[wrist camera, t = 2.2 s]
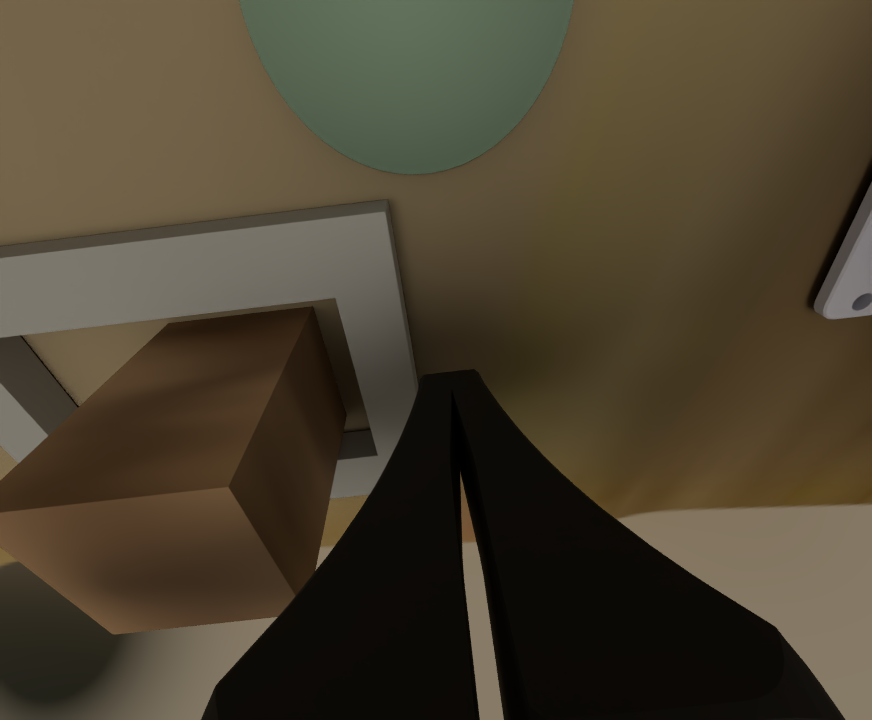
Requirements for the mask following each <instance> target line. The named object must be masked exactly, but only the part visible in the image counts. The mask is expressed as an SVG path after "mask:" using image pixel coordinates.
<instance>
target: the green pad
mask: <svg viewBox="0 0 872 720" xmlns="http://www.w3.org/2000/svg"><path fill="white" fill-rule="evenodd" d="M239 1H240V6H241V10H242V13H243V16H244V19H245V22H246V25H247V28H248V31H249V34H250V37H251V40H252V42H253V44H254V46H255V48H256V51H257V53H258V55H259V57H260V60H261V62H262V64H263V66H264V68H265V69H266V71H267V73H268V75H269V76H270V78H271V80H272V82H273V84H274V85H275V87H276V89H277V90H278V91H279V93H280V94H281V96H282V97H283V98H284V100H285V101H286V103H287V104H288V105H289V107H290V108H291V109H292V110H293V111H294V113H295V114H296V115H297V116H298V117H299V118H300V119H301V121H302V122H303V123H304V124H305V125H306V126H307V127H308V128H309V129H310V130H311V131H313V132H314V133H315V134H316V135H317V136H318V137H319V138H320V139H321V140H323V141H324V142H325V143H327V144H328V145H330V146H331V147H332V148H334V149H335V150H337V151H338V152H339V153H341V154H343V155H345V156H347V157H349V158H350V159H352V160H354V161H356V162H358V163H361V164H364V165H366V166H369V167H371V168H374V169H378V170H382V171H386V172H391V173H398V174H409V175H412V174H429V173H434V172H439V171H445V170H448V169H451V168H454V167H457V166H459V165H462V164H465V163H467V162H468V161H470V160H472V159H474V158H476V157H478V156H480V155H482V154H483V153H484V152H486V151H487V150H489V149H490V148H492V147H493V146H495V145H496V144H497V143H498V142H499V141H501V140H502V139H503V138H504V137H505V136H506V135H507V134H508V133H509V132H511V131H512V129H513V128H514V127H515V126H516V125H517V124H518V123H519V122H520V120H521V119H522V118H523V117H524V116H525V115H526V113H527V112H528V110H529V109H530V108H531V106H532V105H533V103H534V102H535V100H536V99H537V98H538V96H539V94H540V93H541V91H542V89H543V87H544V85H545V84H546V82H547V80H548V78H549V76H550V74H551V72H552V70H553V67H554V65H555V63H556V60H557V58H558V56H559V53H560V51H561V47H562V44H563V41H564V38H565V35H566V32H567V28H568V25H569V20H570V16H571V11H572V6H573V2H574V0H239Z"/></svg>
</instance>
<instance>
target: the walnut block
mask: <svg viewBox="0 0 872 720" xmlns="http://www.w3.org/2000/svg"><path fill="white" fill-rule="evenodd" d="M345 421H346V412H345V409H344V406H343V403H342V400H341V396H340V393H339V390H338V387H337V383H336V380H335V377H334V374H333V370H332V367H331V364H330V361H329V357H328V354H327V351H326V348H325V344H324V341H323V338H322V335H321V331H320V328H319V325H318V322H317V318H316V315H315V312H314V309H313V306H311V307H303V308H294V309H286V310H278V311H269V312H261V313H252V314H244V315H235V316H227V317H218V318H210V319H202V320H193V321H185V322H176V323H168V324H167V325H166V326H165V327H164V328H163V329H162V330H161V331H160V332H159V333H158V334H157V335H156V336H155V337H153V338H152V339H151V340H150V341H149V342H148V343H147V344H146V345H145V346H144V347H143V348H142V349H141V350H140V351H138V352H137V353H136V354H135V355H134V356H133V357H132V358H131V359H130V360H129V361H128V362H127V363H126V364H125V365H124V366H122V367H121V368H120V369H119V370H118V371H117V372H116V373H115V374H114V375H113V376H112V377H111V378H110V379H109V380H107V381H106V382H105V383H104V384H103V385H102V386H101V387H100V388H99V389H98V390H97V391H96V392H95V393H94V394H92V395H91V396H90V397H89V398H88V399H87V400H86V401H85V402H84V403H83V404H82V405H81V406H80V407H79V408H78V409H76V410H75V411H74V412H73V413H72V414H71V415H70V416H69V417H68V418H67V419H66V420H65V421H64V422H63V423H61V424H60V425H59V426H58V427H57V428H56V429H55V430H54V431H53V432H52V433H51V434H50V435H49V436H48V437H47V438H45V439H44V440H43V441H42V442H41V443H40V444H39V445H38V446H37V447H36V448H35V449H34V450H33V451H32V452H30V453H29V454H28V455H27V456H26V457H25V458H24V459H23V460H22V461H21V462H20V463H19V464H18V465H17V466H16V467H14V468H13V469H12V470H11V471H10V472H9V473H8V474H7V475H6V476H5V477H4V478H3V479H2V480H1V481H0V547H1V548H2V549H4V550H5V551H6V552H7V553H9V554H10V555H11V556H13V557H14V558H15V559H17V560H18V561H19V562H21V563H22V564H23V565H24V566H26V567H27V568H28V569H30V570H31V571H32V572H33V573H35V574H36V575H37V576H38V577H40V578H41V579H42V580H44V581H45V582H46V583H48V584H49V585H50V586H51V587H53V588H54V589H55V590H56V591H58V592H59V593H60V594H62V595H63V596H64V597H66V598H67V599H68V600H69V601H71V602H72V603H73V604H75V605H76V606H77V607H78V608H80V609H81V610H82V611H84V612H85V613H86V614H88V615H89V616H90V617H91V618H93V619H94V620H95V621H96V622H98V623H99V624H100V625H102V626H103V627H104V628H106V629H107V630H108V631H109V632H111V633H112V634H122V633H132V632H140V631H150V630H160V629H169V628H178V627H187V626H197V625H206V624H214V623H225V622H234V621H243V620H251V619H252V620H253V619H261V618H271V617H278V616H279V615H280V614H281V613H282V612H283V610H284V609H285V608H286V607H287V606H288V605H289V603H290V602H291V601H292V600H293V599H294V597H295V596H296V595H297V594H298V592H299V591H300V590H301V589H302V587H303V586H304V585H305V584H306V582H307V581H308V580H309V579H310V577H311V576H312V575H313V574H314V572H315V569H316V564H317V559H318V554H319V550H320V545H321V540H322V535H323V530H324V525H325V520H326V515H327V510H328V505H329V500H330V495H331V490H332V485H333V480H334V475H335V470H336V465H337V460H338V455H339V450H340V445H341V440H342V436H343V431H344V426H345Z"/></svg>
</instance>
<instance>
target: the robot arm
mask: <svg viewBox="0 0 872 720" xmlns="http://www.w3.org/2000/svg"><path fill="white" fill-rule="evenodd" d="M814 310H815V312H817V313H818V314H820V315H822V316H824V317H825V318H827V319H842V318H850V317H859V316H868V315H872V182H871V184H870V186H869V189H868V191H867V193H866V195H865V197H864V199H863V201H862V203H861V205H860V207H859V210H858V212H857V214H856V216H855V218H854V220H853V222H852V224H851V226H850V228H849V231H848V233H847V235H846V237H845V239H844V241H843V243H842V245H841V247H840V249H839V252H838V254H837V256H836V258H835V260H834V262H833V264H832V266H831V268H830V270H829V273H828V275H827V277H826V279H825V281H824V283H823V285H822V287H821V289H820V291H819V294H818V296H817V298H816V300H815V304H814ZM460 472H461V477H462V481H463V485H464V490H465V494H466V498H467V503H468V507H469V511H470V516H471V520H472V524H473V529H474V533H475V537H476V542H477V546H478V550H479V554H480V560H481V565H482V570H483V575H484V582H485V588H486V596H487V603H488V610H489V617H490V624H491V631H492V638H493V645H494V652H495V659H496V666H497V673H498V680H499V687H500V695H501V702H502V708H503V716H504V720H845V718H844V717H843V715H842V714H841V713H840V711H839V710H838V708H837V707H836V706H835V704H834V703H833V701H832V700H831V698H830V697H829V695H828V694H827V693H826V692H825V690H824V688H823V687H822V685H821V684H820V682H819V681H818V680H817V679H816V677H815V676H814V674H813V673H812V672H811V670H810V669H809V668H808V666H807V665H806V664H805V663H804V661H803V660H802V659H801V658H800V657H799V655H798V654H797V653H796V652H795V650H794V649H793V648H792V647H791V646H790V644H789V643H788V642H787V641H786V640H785V639H784V637H783V636H782V635H781V633H780V632H779V631H778V629H777V628H776V627H775V626H773V625H772V624H770V623H768V622H767V621H765V620H764V619H762V618H760V617H759V616H757V615H756V614H754V613H752V612H751V611H749V610H748V609H746V608H744V607H743V606H741V605H739V604H738V603H736V602H735V601H733V600H732V599H730V598H728V597H727V596H725V595H724V594H722V593H720V592H719V591H717V590H716V589H714V588H712V587H711V586H709V585H708V584H706V583H705V582H703V581H701V580H700V579H698V578H697V577H695V576H694V575H692V574H691V573H689V572H688V571H686V570H685V569H684V568H682V567H681V566H679V565H678V564H676V563H675V562H674V561H672V560H671V559H669V558H668V557H666V556H665V555H663V554H662V553H661V552H659V551H658V550H656V549H655V548H653V547H652V546H650V545H649V544H648V543H647V542H645V541H644V540H643V539H641V538H640V537H639V536H637V535H636V534H635V533H633V532H632V531H631V530H630V529H628V528H627V527H626V526H624V525H623V524H622V523H620V522H619V521H618V520H616V519H615V518H614V517H613V516H611V515H610V514H609V513H607V512H606V511H605V510H603V509H602V508H601V507H600V506H598V505H597V504H596V503H595V502H594V501H593V500H591V499H590V498H589V497H588V496H587V495H585V494H584V493H583V492H582V491H581V490H580V489H578V488H577V487H576V486H575V485H574V484H573V483H572V482H571V481H570V480H568V479H567V478H566V477H565V476H564V475H563V474H562V473H561V472H560V471H559V470H558V469H557V468H556V467H555V466H553V465H552V464H551V463H550V462H549V461H548V460H547V459H546V458H545V457H544V456H543V455H542V454H541V452H540V451H539V450H538V449H537V448H536V447H535V446H534V445H533V444H532V443H531V442H530V441H529V440H528V439H527V437H526V436H525V435H524V434H523V433H522V432H521V431H520V429H519V428H518V427H517V426H516V425H515V423H514V422H513V421H512V420H511V419H510V417H509V416H508V415H507V414H506V413H505V411H504V410H503V409H502V407H501V406H500V405H499V403H498V402H497V401H496V399H495V398H494V397H493V395H492V394H491V392H490V391H489V389H488V388H487V386H486V385H485V383H484V381H483V380H482V378H481V376H480V374H479V373H478V372H477V371H476V370H475V369H470V370H462V371H453V372H444V373H436V374H427V375H423V377H422V378H421V379H420V382H419V387H418V391H417V395H416V398H415V401H414V404H413V407H412V410H411V412H410V415H409V417H408V420H407V422H406V425H405V427H404V429H403V432H402V434H401V436H400V439H399V441H398V443H397V445H396V447H395V449H394V451H393V453H392V455H391V457H390V459H389V461H388V463H387V465H386V467H385V469H384V471H383V472H382V474H381V476H380V478H379V479H378V481H377V483H376V485H375V486H374V488H373V490H372V491H371V493H370V495H369V496H368V498H367V500H366V501H365V503H364V504H363V506H362V508H361V509H360V511H359V512H358V514H357V515H356V516H355V518H354V519H353V521H352V522H351V524H350V525H349V527H348V528H347V530H346V531H345V533H344V534H343V536H342V537H341V538H340V540H339V541H338V542H337V544H336V545H335V547H334V548H333V549H332V551H331V552H330V553H329V555H328V556H327V557H326V559H325V560H324V561H323V562H322V564H321V565H320V566H319V567H318V569H317V570H316V571H315V572H314V574H313V575H312V576H311V577H310V579H309V580H308V581H307V582H306V584H305V585H304V586H303V587H302V589H301V590H300V591H299V592H298V594H297V595H296V596H295V597H294V599H293V600H292V601H291V602H290V603H289V605H288V606H287V607H286V608H285V609H284V610H283V612H282V613H281V614H280V615H279V616H278V618H277V619H276V620H275V621H274V622H273V623H272V624H271V625H270V627H269V628H268V629H267V630H266V631H265V632H264V633H263V634H262V635H261V636H260V638H258V640H257V641H256V642H255V643H254V644H253V645H252V646H251V647H250V648H249V650H248V651H247V652H246V653H245V654H244V655H243V656H242V657H241V658H240V659H239V661H238V662H237V663H236V664H235V665H234V666H233V667H232V668H231V669H230V671H229V672H228V673H227V674H226V675H225V676H224V677H223V678H222V679H221V680H220V681H219V683H218V684H217V685H216V686H215V689H214V691H213V693H212V695H211V698H210V700H209V702H208V705H207V707H206V709H205V712H204V714H203V717H202V719H201V720H480V718H479V711H478V710H479V709H478V701H477V692H476V683H475V674H474V665H473V656H472V647H471V638H470V630H469V621H468V611H467V603H466V594H465V584H464V573H463V559H462V522H461V487H460Z"/></svg>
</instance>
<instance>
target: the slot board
mask: <svg viewBox="0 0 872 720" xmlns="http://www.w3.org/2000/svg"><path fill="white" fill-rule="evenodd" d="M331 298H336V302H337V306H338V309H339V313H340V317H341V321H342V324H343V328H344V332H345V335H346V339H347V343H348V347H349V350H350V354H351V358H352V361H353V365H354V369H355V373H356V376H357V380H358V384H359V387H360V391H361V395H362V399H363V402H364V406H365V410H366V413H367V417H368V421H369V425H370V428H371V430H366V431H357V432H348V433H343V436H342V440H341V445H340V450H339V455H338V460H337V465H336V470H335V475H334V480H333V485H332V490H331V495H330V499H333V498H342V497H351V496H360V495H369V494H370V493H371V491H372V490H373V488H374V486H375V485H376V483H377V481H378V479H379V478H380V476H381V474H382V472H383V471H384V469H385V467H386V465H387V463H388V461H389V459H390V457H391V455H392V453H393V451H394V449H395V447H396V445H397V443H398V441H399V439H400V436H401V434H402V432H403V429H404V427H405V425H406V422H407V420H408V417H409V415H410V412H411V410H412V407H413V404H414V401H415V398H416V395H417V391H418V381H417V375H416V369H415V363H414V357H413V350H412V344H411V338H410V332H409V326H408V320H407V314H406V307H405V301H404V295H403V289H402V283H401V277H400V271H399V265H398V258H397V252H396V246H395V240H394V234H393V228H392V222H391V215H390V209H389V203H388V199H386V200H378V201H369V202H361V203H353V204H345V205H337V206H328V207H320V208H312V209H304V210H295V211H287V212H279V213H271V214H263V215H254V216H246V217H238V218H230V219H222V220H213V221H205V222H197V223H189V224H181V225H172V226H164V227H156V228H148V229H140V230H131V231H123V232H115V233H107V234H99V235H90V236H82V237H74V238H66V239H58V240H49V241H41V242H33V243H25V244H17V245H8V246H0V446H1V447H2V448H3V449H4V450H6V451H7V452H8V453H9V454H10V455H11V456H12V457H13V458H14V459H15V460H16V461H17V462H18V463H20V462H21V461H22V460H23V459H24V458H25V457H26V456H27V455H28V454H29V453H30V452H32V451H33V450H34V449H35V448H36V447H37V446H38V445H39V444H40V443H41V442H42V441H43V440H44V439H45V438H47V437H48V436H49V435H50V434H51V433H52V432H53V431H54V430H55V429H56V428H57V427H58V426H59V425H60V424H61V423H63V422H64V421H65V420H66V419H67V418H68V417H69V416H70V415H71V414H72V413H73V412H74V411H75V410H76V409H78V407H77V406H76V405H75V404H74V402H73V401H72V400H71V399H70V397H69V396H68V395H67V394H66V392H65V391H64V390H63V389H62V388H61V386H60V385H59V384H58V383H57V381H56V380H55V379H54V378H53V376H52V375H51V374H50V373H49V371H48V370H47V369H46V368H45V366H44V365H43V364H42V363H41V361H40V360H39V359H38V358H37V356H36V355H35V354H34V353H33V352H32V350H31V349H30V348H29V347H28V345H27V344H26V343H25V342H24V340H23V339H22V338H21V337H20V335H28V334H36V333H45V332H53V331H61V330H70V329H78V328H87V327H95V326H104V325H112V324H121V323H129V322H137V321H146V320H154V319H163V318H171V317H180V316H188V315H196V314H205V313H213V312H222V311H230V310H239V309H247V308H255V307H264V306H272V305H281V304H289V303H298V302H306V301H315V300H323V299H331Z"/></svg>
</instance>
